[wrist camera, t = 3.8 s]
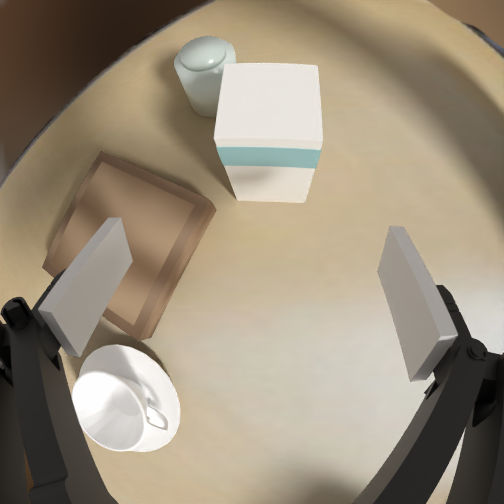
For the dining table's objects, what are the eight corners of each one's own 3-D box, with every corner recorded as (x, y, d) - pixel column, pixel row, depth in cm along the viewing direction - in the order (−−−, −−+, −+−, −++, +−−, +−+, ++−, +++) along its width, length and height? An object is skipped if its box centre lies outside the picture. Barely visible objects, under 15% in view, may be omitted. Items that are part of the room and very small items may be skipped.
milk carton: (305, 143, 29) (318, 65, 18) (305, 203, 28) (323, 142, 17) (241, 141, 30) (224, 63, 18) (236, 200, 29) (212, 139, 17)
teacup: (187, 454, 25) (172, 479, 20) (91, 434, 26) (66, 450, 21) (182, 347, 27) (162, 357, 22) (81, 336, 28) (51, 341, 23)
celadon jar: (207, 73, 32) (193, 28, 24) (251, 86, 31) (244, 37, 23) (180, 108, 31) (159, 64, 23) (225, 123, 30) (212, 77, 23)
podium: (113, 162, 31) (100, 151, 28) (216, 209, 29) (210, 199, 26) (58, 270, 29) (41, 267, 26) (151, 337, 28) (138, 340, 25)
